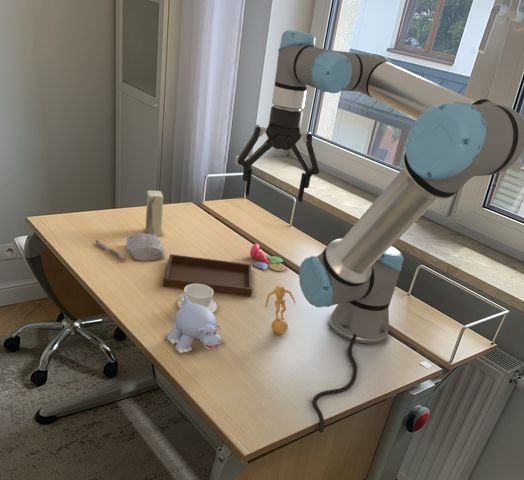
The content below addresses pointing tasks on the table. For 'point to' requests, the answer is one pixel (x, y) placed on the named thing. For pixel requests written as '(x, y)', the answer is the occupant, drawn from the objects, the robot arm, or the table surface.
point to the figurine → (279, 324)
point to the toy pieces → (265, 259)
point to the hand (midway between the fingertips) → (273, 197)
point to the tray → (209, 274)
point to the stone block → (144, 247)
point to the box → (154, 212)
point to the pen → (108, 249)
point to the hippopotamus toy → (194, 327)
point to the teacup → (199, 296)
